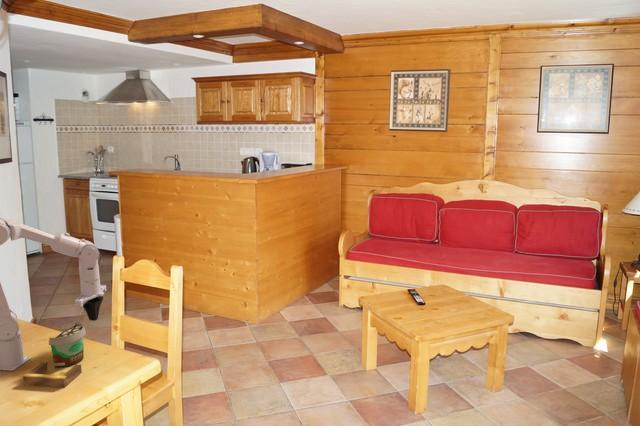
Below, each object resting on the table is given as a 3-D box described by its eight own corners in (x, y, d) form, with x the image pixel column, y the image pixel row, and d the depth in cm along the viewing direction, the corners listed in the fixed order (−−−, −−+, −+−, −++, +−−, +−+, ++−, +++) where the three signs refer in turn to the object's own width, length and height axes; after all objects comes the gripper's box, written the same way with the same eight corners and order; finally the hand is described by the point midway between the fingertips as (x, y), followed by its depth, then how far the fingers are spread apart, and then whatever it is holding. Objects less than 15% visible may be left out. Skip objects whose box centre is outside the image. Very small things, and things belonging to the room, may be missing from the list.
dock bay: (24, 384, 140) (22, 375, 139) (43, 370, 148) (42, 361, 147) (64, 387, 138) (63, 378, 138) (81, 372, 146) (80, 363, 146)
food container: (70, 372, 146) (66, 340, 144) (51, 370, 148) (48, 338, 146) (96, 353, 158) (93, 323, 156) (79, 351, 159) (76, 321, 158)
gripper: (88, 287, 152) (92, 329, 155) (113, 272, 166) (116, 311, 169) (67, 286, 153) (71, 328, 156) (93, 271, 167) (96, 310, 170)
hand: (93, 319), depth 163 cm, fingers closed
